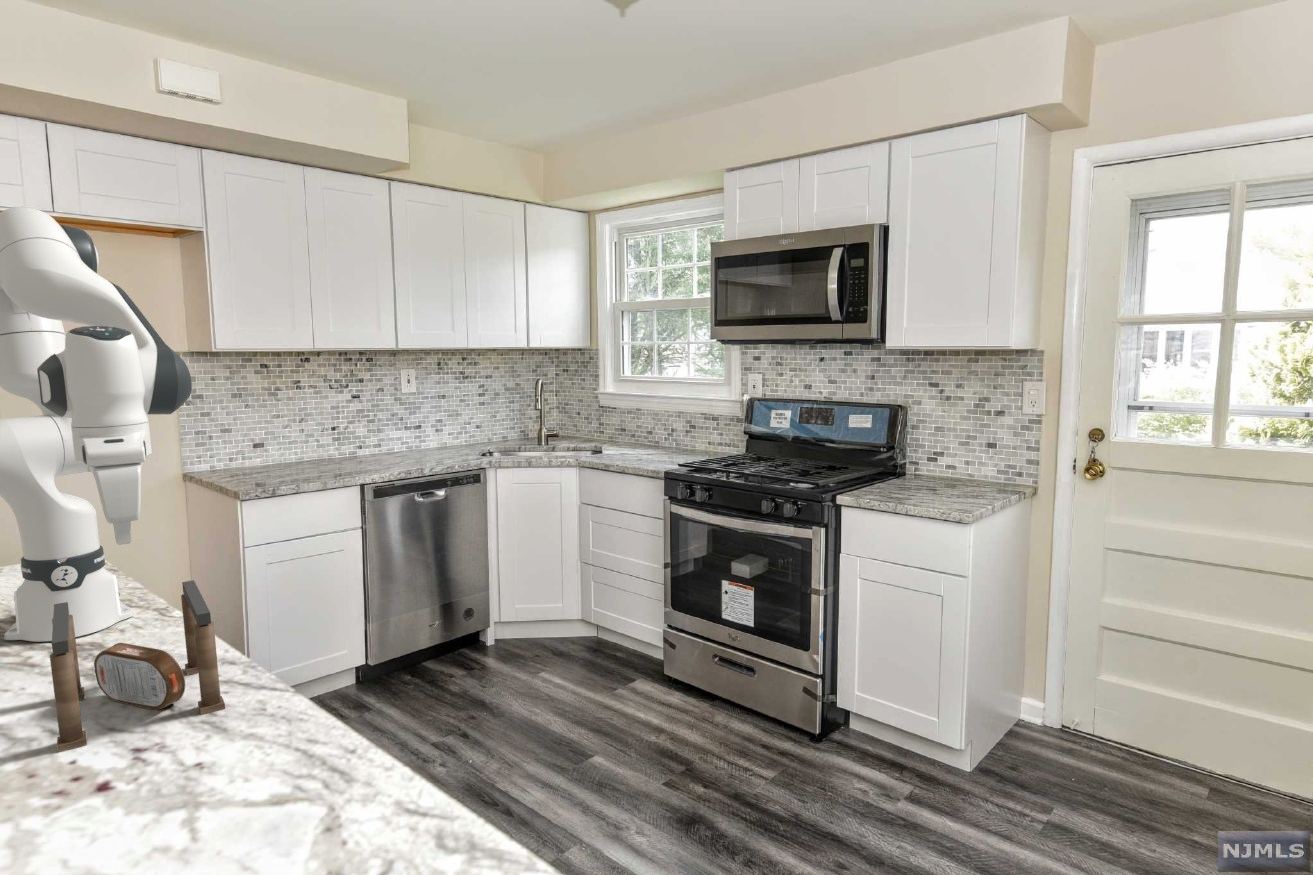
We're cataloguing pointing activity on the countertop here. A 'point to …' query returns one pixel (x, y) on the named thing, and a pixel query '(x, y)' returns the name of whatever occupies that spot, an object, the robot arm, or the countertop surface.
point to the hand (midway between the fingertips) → (123, 542)
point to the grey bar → (60, 629)
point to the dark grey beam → (196, 603)
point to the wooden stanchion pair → (71, 692)
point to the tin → (139, 676)
